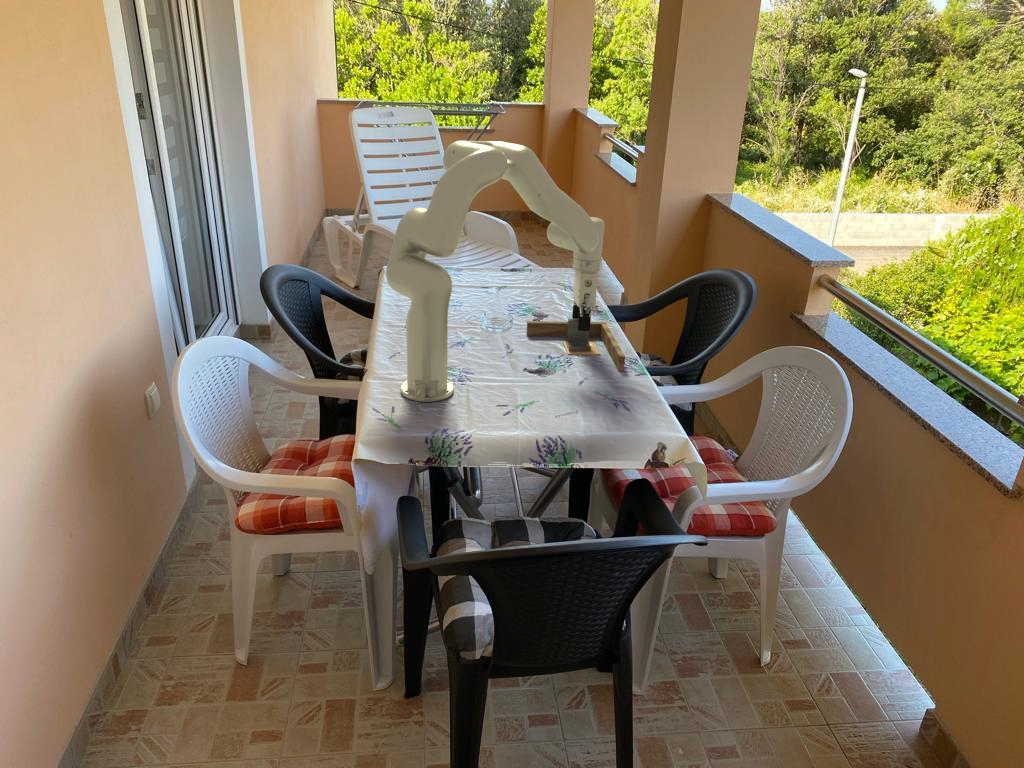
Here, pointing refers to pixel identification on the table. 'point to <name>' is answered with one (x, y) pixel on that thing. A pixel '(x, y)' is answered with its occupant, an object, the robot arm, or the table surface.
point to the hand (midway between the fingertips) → (580, 324)
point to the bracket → (577, 337)
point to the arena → (595, 331)
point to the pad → (593, 352)
